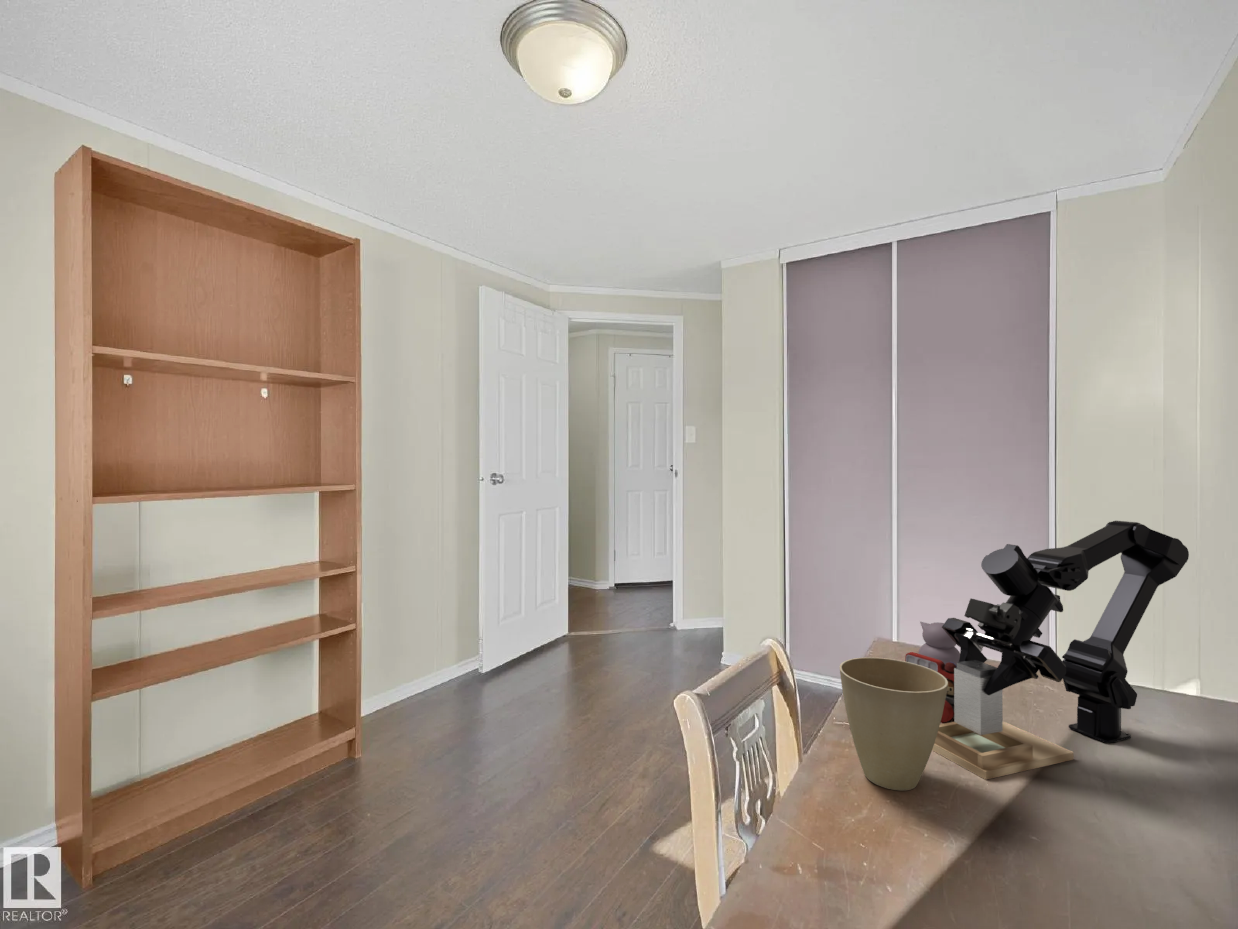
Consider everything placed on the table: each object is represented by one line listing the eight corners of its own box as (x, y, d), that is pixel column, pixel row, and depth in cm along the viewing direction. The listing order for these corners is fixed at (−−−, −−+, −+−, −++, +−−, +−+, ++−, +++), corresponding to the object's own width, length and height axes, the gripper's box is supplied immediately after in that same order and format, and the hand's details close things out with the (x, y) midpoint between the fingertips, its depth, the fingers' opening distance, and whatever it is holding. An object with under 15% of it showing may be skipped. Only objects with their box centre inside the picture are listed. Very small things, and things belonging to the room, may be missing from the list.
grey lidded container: (975, 718, 100) (975, 659, 100) (1002, 731, 96) (1002, 669, 96) (954, 722, 99) (954, 662, 99) (980, 735, 94) (980, 672, 94)
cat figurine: (925, 681, 131) (925, 626, 131) (913, 669, 138) (913, 617, 138) (967, 684, 129) (967, 628, 129) (953, 671, 137) (953, 619, 137)
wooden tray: (1003, 728, 107) (1003, 710, 107) (1073, 759, 96) (1073, 739, 96) (921, 744, 101) (921, 725, 101) (985, 779, 90) (985, 758, 90)
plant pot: (908, 818, 80) (909, 699, 80) (818, 770, 93) (818, 667, 93) (968, 786, 88) (968, 678, 88) (877, 745, 101) (878, 651, 101)
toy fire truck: (959, 730, 107) (959, 672, 107) (895, 706, 117) (895, 653, 117) (980, 721, 111) (980, 665, 111) (916, 698, 121) (916, 647, 121)
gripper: (949, 572, 107) (899, 639, 104) (1052, 594, 90) (995, 675, 86) (984, 612, 110) (936, 679, 107) (1090, 641, 92) (1036, 722, 89)
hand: (971, 687), depth 97 cm, fingers closed on grey lidded container, 5 cm apart
